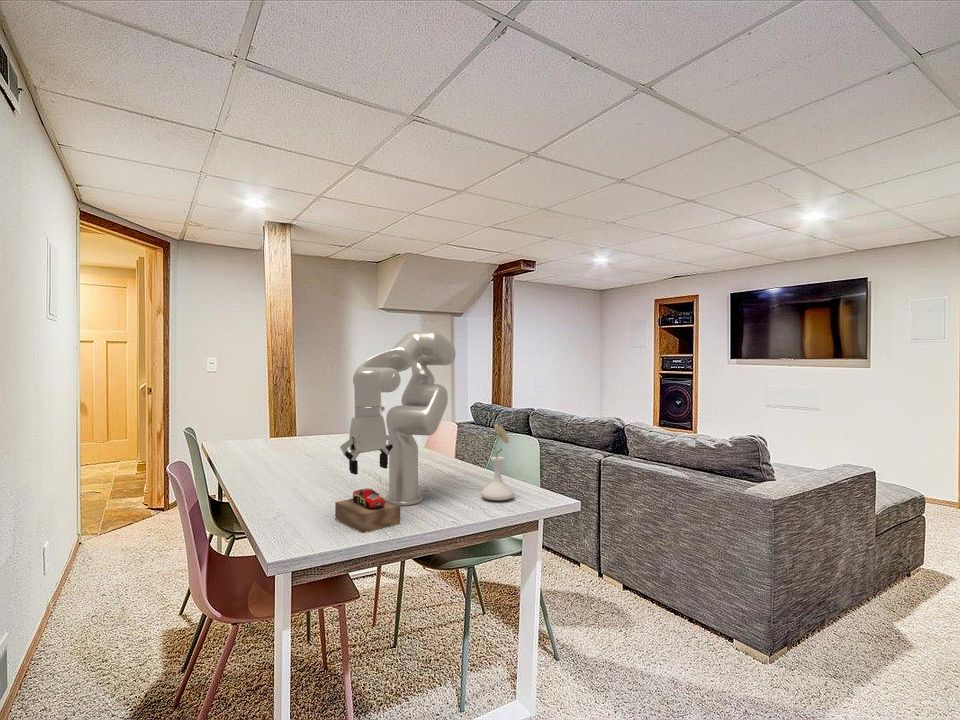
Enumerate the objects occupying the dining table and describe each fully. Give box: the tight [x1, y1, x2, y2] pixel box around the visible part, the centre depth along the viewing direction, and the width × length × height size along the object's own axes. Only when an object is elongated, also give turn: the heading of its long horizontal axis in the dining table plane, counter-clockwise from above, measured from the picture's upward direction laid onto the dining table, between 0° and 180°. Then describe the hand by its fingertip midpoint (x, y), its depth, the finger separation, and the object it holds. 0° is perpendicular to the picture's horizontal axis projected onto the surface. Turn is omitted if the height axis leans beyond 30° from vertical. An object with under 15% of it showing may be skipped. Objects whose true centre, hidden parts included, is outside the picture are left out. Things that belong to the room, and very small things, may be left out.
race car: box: [352, 488, 385, 509], centre depth 147 cm, size 13×5×4 cm, turn 38°
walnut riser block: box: [334, 498, 401, 534], centre depth 147 cm, size 12×16×5 cm
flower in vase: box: [480, 423, 515, 501], centre depth 173 cm, size 13×11×25 cm
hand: (369, 470), depth 148 cm, fingers open, 9 cm apart
